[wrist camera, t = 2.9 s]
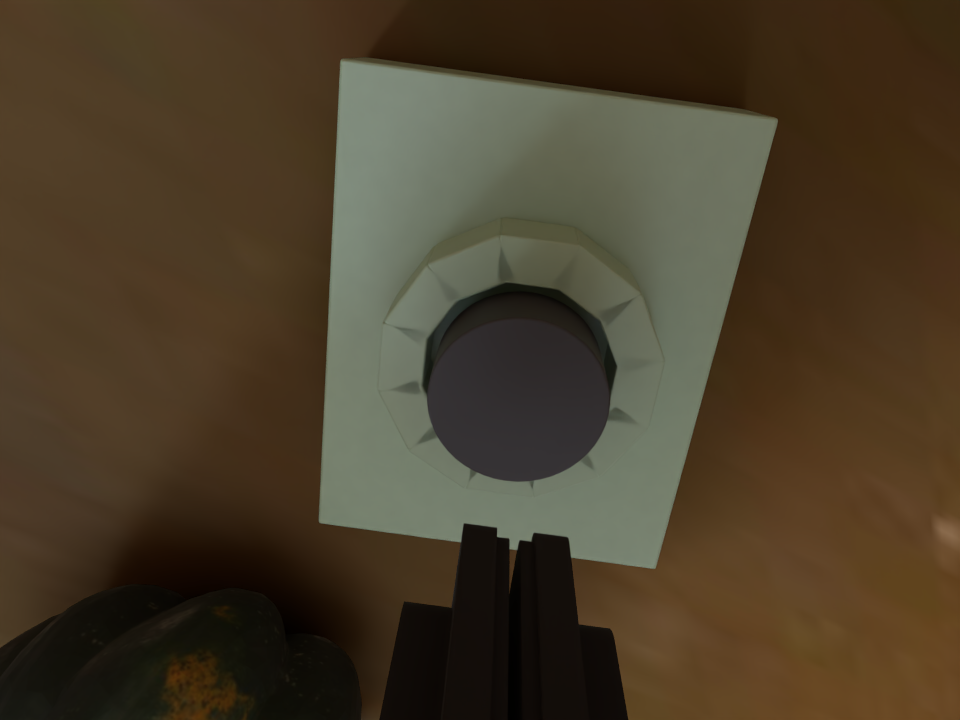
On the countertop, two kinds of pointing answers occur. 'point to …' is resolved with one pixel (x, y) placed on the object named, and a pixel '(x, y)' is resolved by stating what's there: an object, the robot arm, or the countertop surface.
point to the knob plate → (526, 287)
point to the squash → (174, 662)
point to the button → (518, 387)
